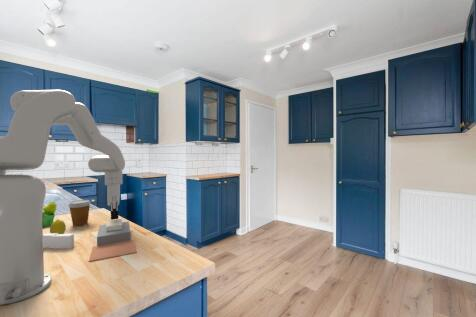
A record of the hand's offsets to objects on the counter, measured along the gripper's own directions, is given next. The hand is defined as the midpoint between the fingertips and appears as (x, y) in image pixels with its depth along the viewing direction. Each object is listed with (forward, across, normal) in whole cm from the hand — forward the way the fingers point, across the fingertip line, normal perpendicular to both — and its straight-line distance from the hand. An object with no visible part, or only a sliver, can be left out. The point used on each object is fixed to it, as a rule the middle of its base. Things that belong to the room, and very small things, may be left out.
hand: (114, 218), depth 110 cm
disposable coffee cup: (+5, -17, -16) cm, 24 cm away
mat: (+5, +26, 0) cm, 27 cm away
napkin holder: (+6, +11, -20) cm, 24 cm away
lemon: (+5, 0, -22) cm, 23 cm away
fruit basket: (+5, -27, -32) cm, 42 cm away
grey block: (+5, +12, 0) cm, 13 cm away
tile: (+1, +10, 0) cm, 10 cm away
